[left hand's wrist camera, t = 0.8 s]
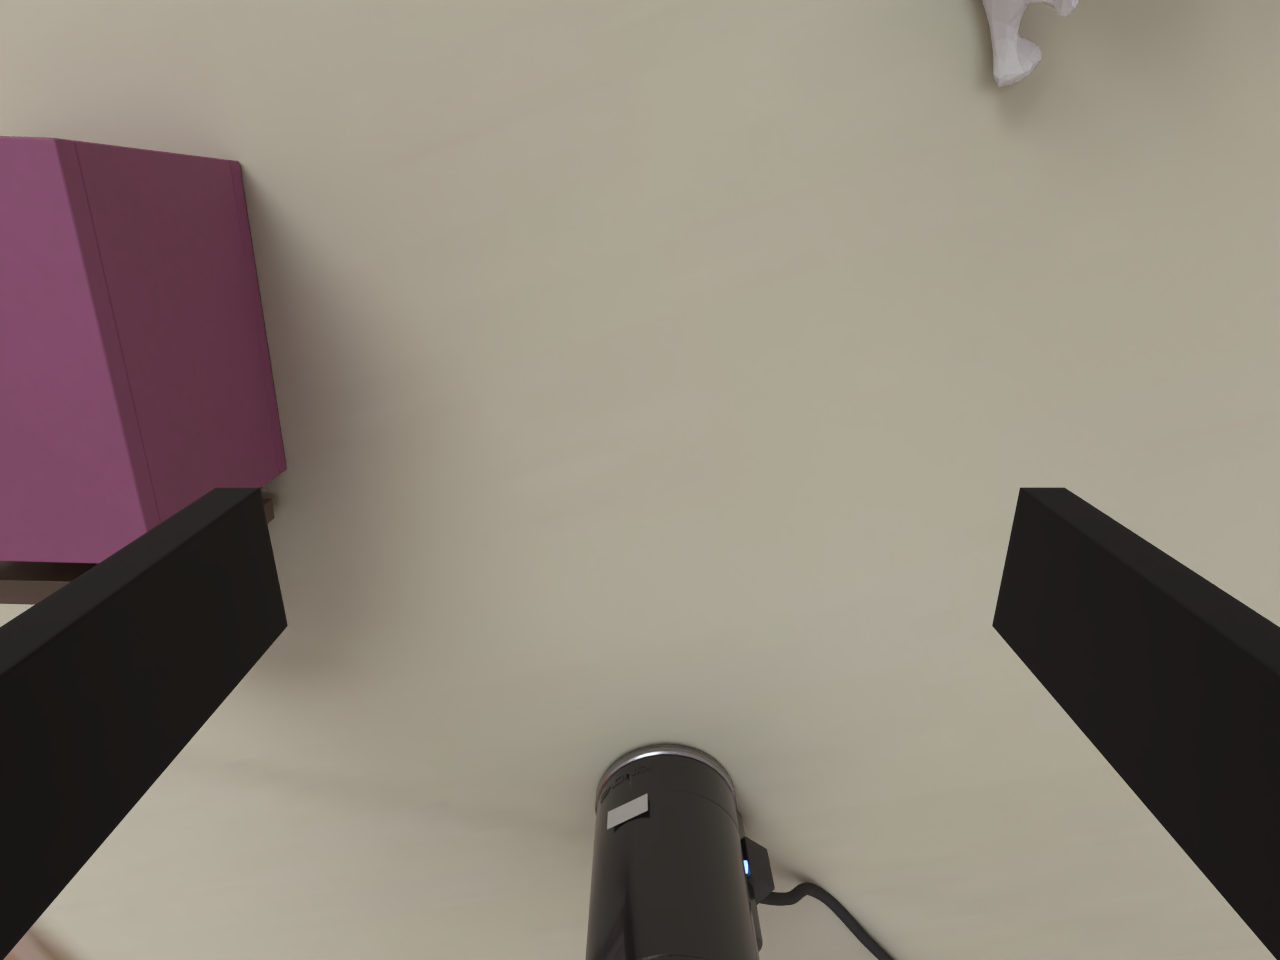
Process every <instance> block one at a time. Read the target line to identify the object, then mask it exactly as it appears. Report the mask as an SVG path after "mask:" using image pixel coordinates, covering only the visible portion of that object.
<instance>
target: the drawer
mask: <svg viewBox="0 0 1280 960" xmlns="http://www.w3.org/2000/svg"><path fill="white" fill-rule="evenodd" d="M262 501H263V506H264V511H265V516H266V521H267V524H268V523H269V522H270V521H271V520H273V519H274V511H273V505H272V500H271V499H262ZM97 564H99V563H63V562H26V561H0V603H1V604H37V603H39V602H40V601H42V600H43V599H45V598H46V597H48V596H49V595H51V594H53V593H54V592H56V591H57V590H59V589H60V588H62V587H63V586H65V585H66V584H68V583H69V582H71V581H73V580H74V579H76V578H77V577H79V576H80V575H82V574H83V573H85V572H86V571H88V570H89V569H91V568H93V567H94V566H96V565H97Z"/></svg>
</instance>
